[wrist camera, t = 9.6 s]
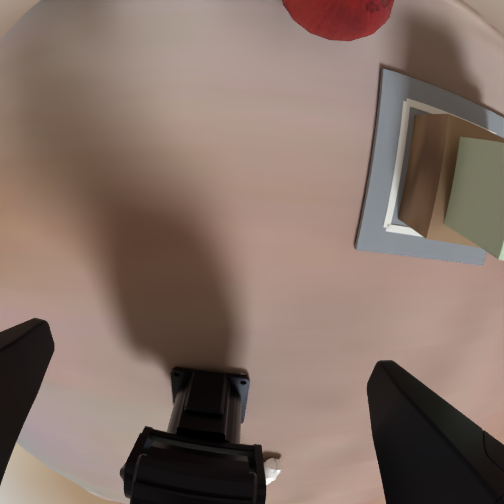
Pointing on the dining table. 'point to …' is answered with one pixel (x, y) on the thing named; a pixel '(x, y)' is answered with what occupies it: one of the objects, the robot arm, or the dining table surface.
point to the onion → (340, 17)
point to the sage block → (479, 195)
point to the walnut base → (435, 174)
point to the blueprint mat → (396, 163)
